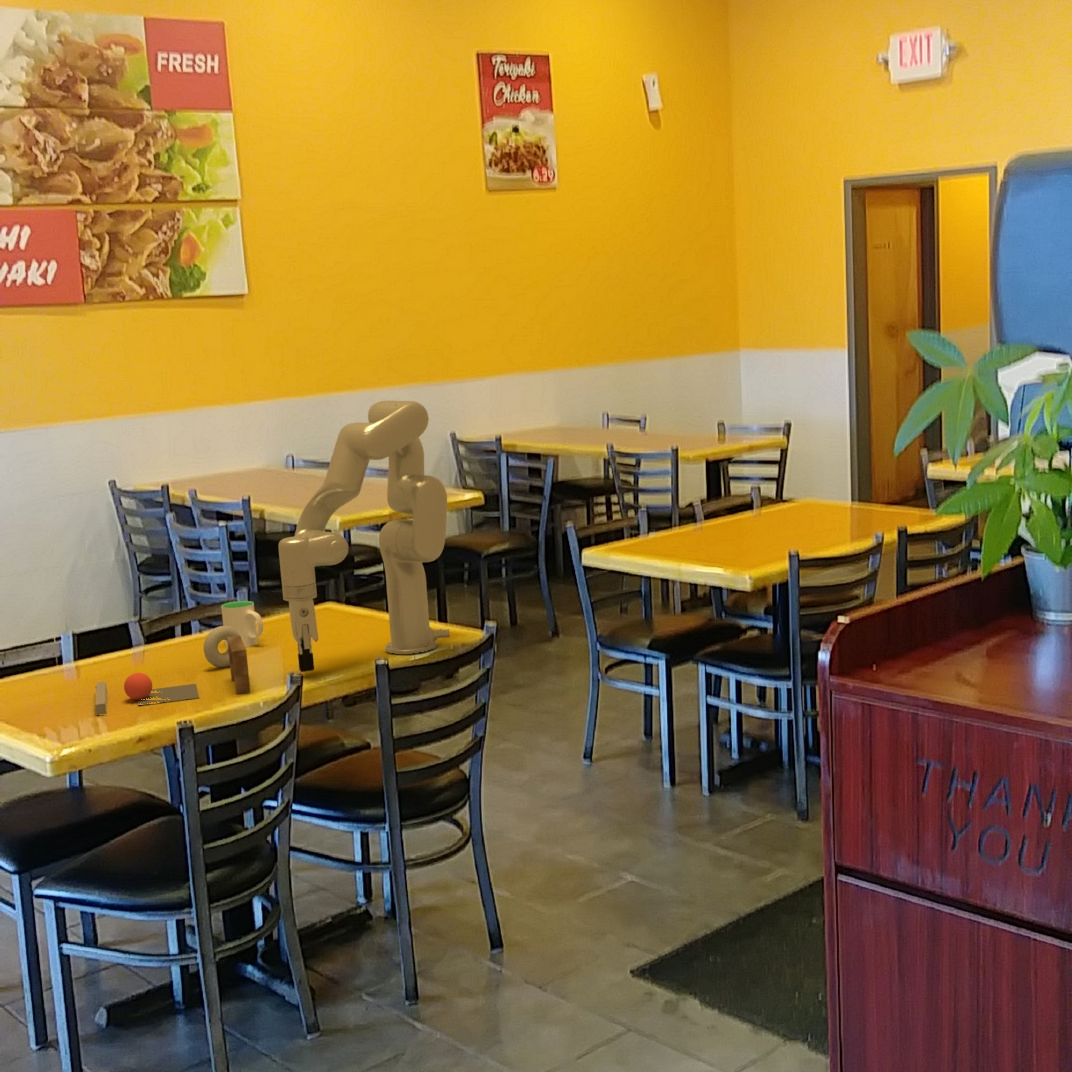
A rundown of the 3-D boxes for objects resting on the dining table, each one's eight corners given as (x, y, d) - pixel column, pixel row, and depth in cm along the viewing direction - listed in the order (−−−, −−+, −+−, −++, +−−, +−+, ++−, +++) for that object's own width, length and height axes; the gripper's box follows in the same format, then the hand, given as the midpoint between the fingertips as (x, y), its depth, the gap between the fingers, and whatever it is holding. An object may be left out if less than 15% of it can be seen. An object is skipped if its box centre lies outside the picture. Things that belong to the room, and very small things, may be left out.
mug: (275, 643, 358) (271, 602, 356) (253, 650, 351) (249, 609, 349) (241, 639, 364) (237, 600, 362) (218, 646, 357) (214, 606, 356)
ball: (157, 684, 314) (140, 664, 313) (158, 691, 309) (141, 670, 307) (135, 701, 313) (118, 681, 312) (135, 708, 308) (118, 687, 306)
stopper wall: (107, 692, 319) (105, 681, 318) (106, 714, 300) (105, 703, 300) (97, 693, 318) (96, 682, 318) (96, 716, 299) (95, 704, 299)
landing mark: (195, 684, 321) (195, 683, 321) (199, 698, 308) (199, 697, 308) (136, 692, 317) (136, 691, 317) (137, 706, 305) (137, 705, 305)
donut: (210, 672, 331) (205, 631, 330) (202, 670, 334) (198, 629, 332) (247, 663, 338) (243, 622, 336) (239, 661, 340) (235, 621, 339)
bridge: (244, 676, 325) (240, 635, 323) (250, 692, 310) (246, 649, 309) (231, 678, 324) (227, 637, 322) (236, 694, 310) (232, 651, 308)
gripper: (320, 595, 312) (328, 675, 315) (311, 584, 326) (318, 661, 329) (286, 599, 310) (294, 680, 313) (279, 587, 324) (286, 665, 327)
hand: (306, 670), depth 321 cm, fingers closed
